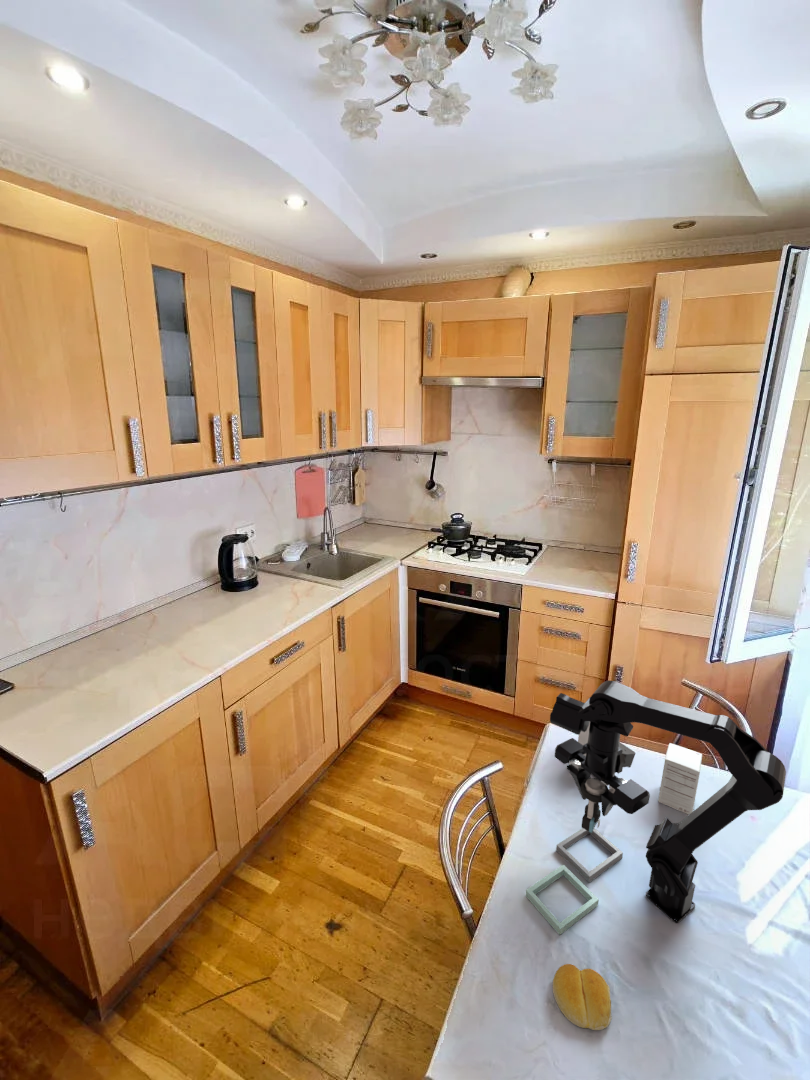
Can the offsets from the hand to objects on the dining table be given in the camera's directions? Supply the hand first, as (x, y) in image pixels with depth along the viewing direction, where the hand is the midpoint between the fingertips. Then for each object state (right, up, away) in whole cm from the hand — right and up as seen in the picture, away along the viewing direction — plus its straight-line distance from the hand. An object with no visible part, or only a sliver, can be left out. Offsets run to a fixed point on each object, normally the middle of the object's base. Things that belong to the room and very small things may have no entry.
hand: (594, 806), depth 101 cm
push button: (0, -4, +1) cm, 4 cm away
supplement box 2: (+27, -8, +18) cm, 34 cm away
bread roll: (-11, -19, -22) cm, 31 cm away
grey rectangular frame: (0, -12, +3) cm, 13 cm away
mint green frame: (-9, -15, -7) cm, 18 cm away
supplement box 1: (+12, -5, +31) cm, 33 cm away
